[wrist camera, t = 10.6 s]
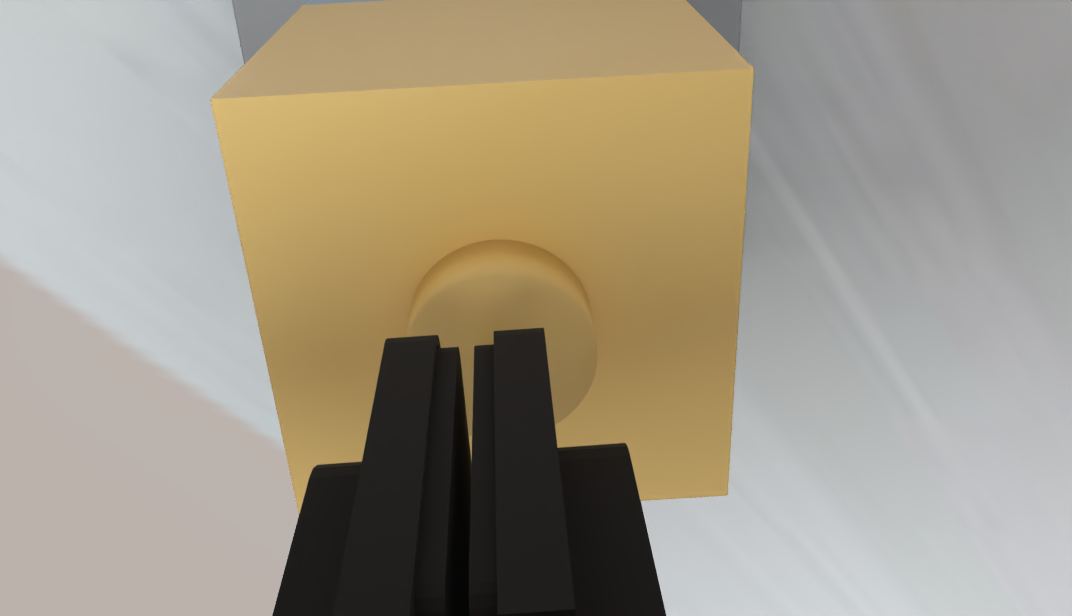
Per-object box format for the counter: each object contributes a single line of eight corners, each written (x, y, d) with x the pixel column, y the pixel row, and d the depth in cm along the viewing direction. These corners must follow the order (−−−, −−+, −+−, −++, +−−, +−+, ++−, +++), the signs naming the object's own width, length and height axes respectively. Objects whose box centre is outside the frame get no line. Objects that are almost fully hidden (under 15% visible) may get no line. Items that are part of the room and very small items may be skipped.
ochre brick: (670, -16, 16) (776, 91, 10) (664, 308, 19) (743, 541, 13) (303, 4, 16) (185, 124, 10) (353, 326, 19) (288, 569, 13)
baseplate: (738, -201, 21) (763, -202, 19) (718, 271, 27) (735, 306, 25) (213, -170, 21) (184, -168, 19) (302, 297, 27) (287, 335, 25)
